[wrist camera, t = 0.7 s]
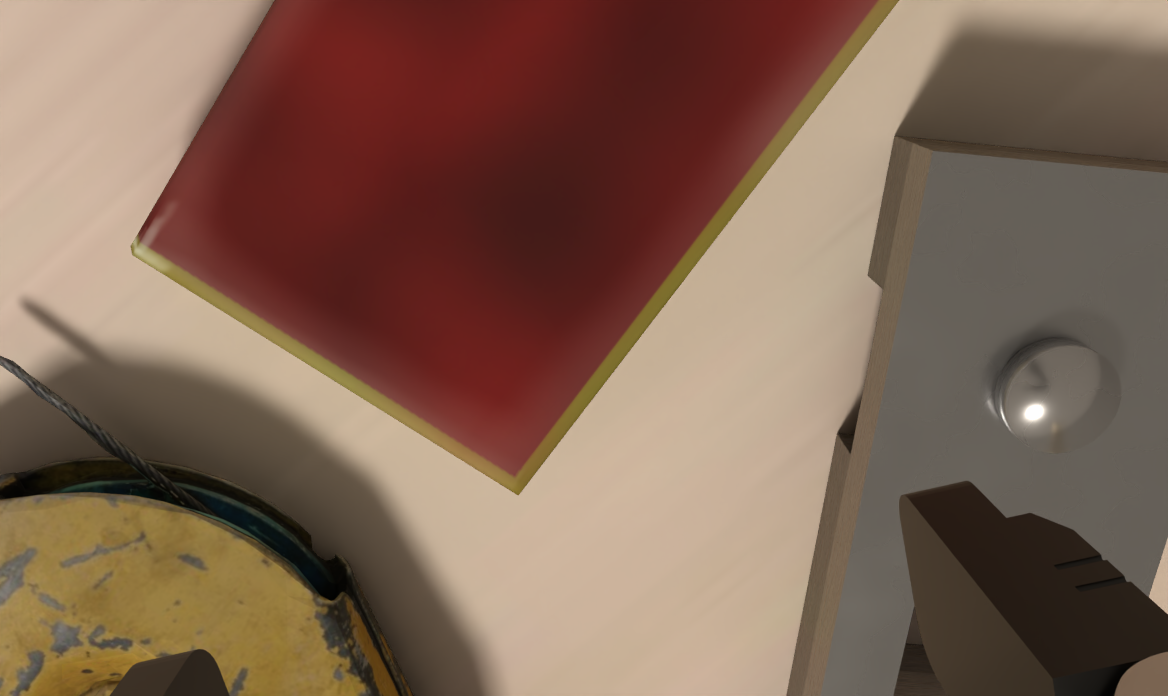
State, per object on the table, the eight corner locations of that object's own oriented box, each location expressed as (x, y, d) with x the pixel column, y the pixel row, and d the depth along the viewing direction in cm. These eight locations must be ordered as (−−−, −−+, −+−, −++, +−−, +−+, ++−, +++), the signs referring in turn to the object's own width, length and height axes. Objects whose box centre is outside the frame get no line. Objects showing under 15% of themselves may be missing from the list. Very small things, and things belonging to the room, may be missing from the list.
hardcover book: (175, 213, 28) (112, 248, 24) (610, -519, 23) (621, -629, 19) (523, 436, 31) (517, 500, 27) (988, -179, 26) (1067, -214, 22)
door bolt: (894, 136, 28) (944, 155, 24) (1208, 165, 28) (1303, 189, 24) (745, 907, 37) (765, 1005, 33) (984, 920, 37) (1030, 1019, 33)
